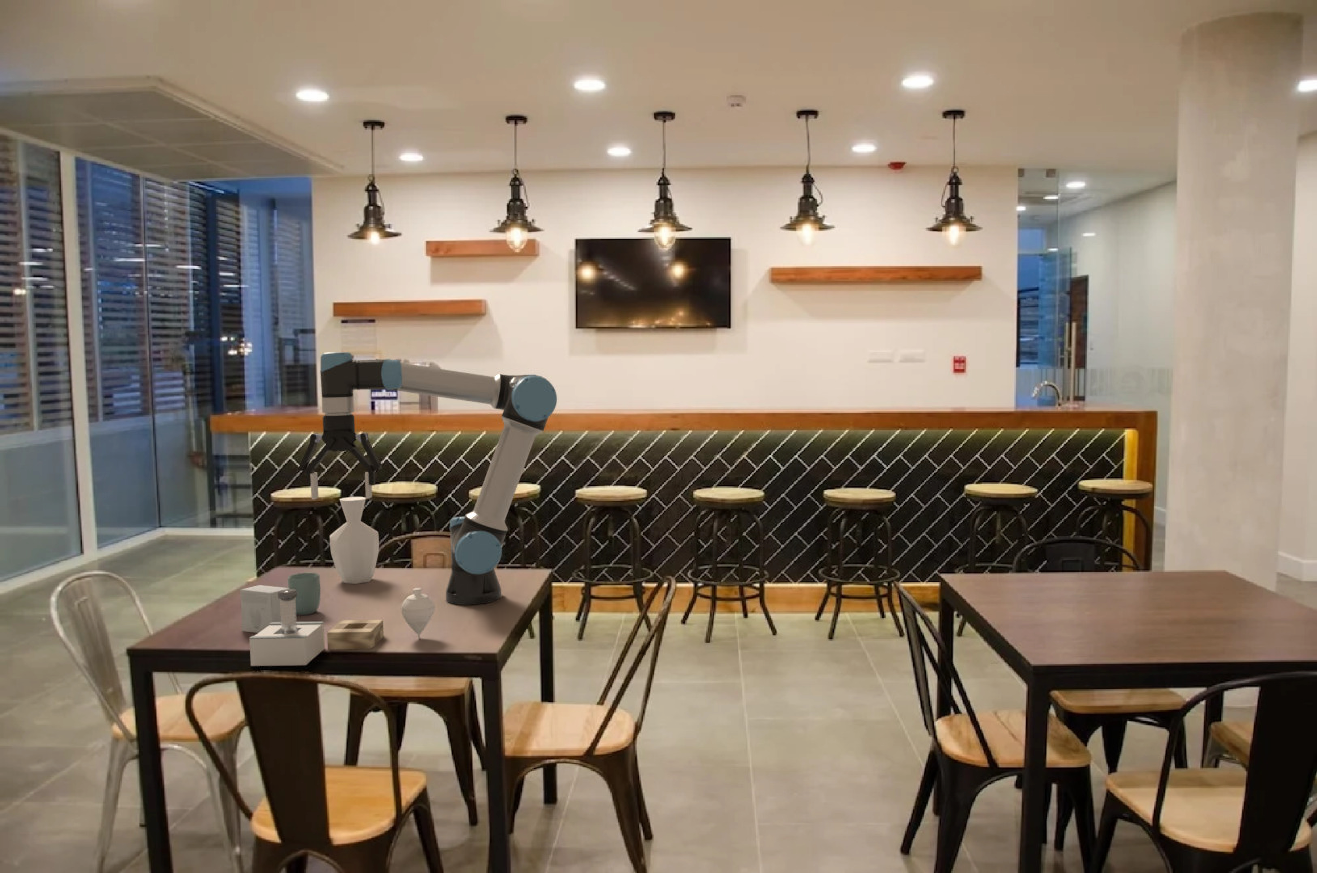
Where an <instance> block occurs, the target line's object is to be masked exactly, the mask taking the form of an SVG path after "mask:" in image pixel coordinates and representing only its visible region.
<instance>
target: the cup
mask: <svg viewBox="0 0 1317 873" xmlns="http://www.w3.org/2000/svg"><path fill="white" fill-rule="evenodd" d="M287 588H290V589H295V590H297V597H295V601H296V615H300V616H306V615H311V614H314V613H316V612H317V610H318V609H319V607H320V605H321V604H320V603H321V577H320V574H319V573H318V572H300V573H294V574H291V575H289V576H288V577H287Z"/></svg>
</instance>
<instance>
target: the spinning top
mask: <svg viewBox="0 0 1317 873" xmlns="http://www.w3.org/2000/svg"><path fill="white" fill-rule="evenodd" d="M412 592H413V593H412V594H410V595H409V596H407V597H406V599H404V601H403V602H402V604H401V606H400V607H401V608H400V610H401V611H400V612H401V614H402V617H403V618H404V620H405V622H406V623H407V624H408V626H409V627H410V629H412V630H413V632H414V633H415V634H417V639H420V638H421V637H420V636H421V635H422V634H421V633H423V631H424V630H425V628H426V627H427V626H428V624H429V622H430V621H431V620H432V617H433V615H434V612H435V604H434V603H435V602H434V601H433V600H432V599H431V598H430V596H429V595H427V594H423V593H422V588H421V587H416V588H413V589H412Z"/></svg>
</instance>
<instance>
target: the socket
mask: <svg viewBox="0 0 1317 873" xmlns="http://www.w3.org/2000/svg"><path fill="white" fill-rule="evenodd" d="M325 641H326V639H325V622H324V621H297V632H296V633H295V634H282V629H281V622H272V623H270V625H269V626H268V627H266V628H265V629H263V630H262V631H260V632H259V633H255V635H251V636H250V637H249V651H250V652H249V654H250V655H249V656H250V667H260V666H261V667H262V666H264V667H265V666H266V667H267V666H268V667H272V666H273V667H274V666H275V667H276V666H307V665H308V664H309V663H310V662H311V661H312V660H313V659H314V658H316V657H317V656H318V655H319V654H320V653H322V652H323V651H324V650H325V649H326V643H325Z"/></svg>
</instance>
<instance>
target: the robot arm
mask: <svg viewBox="0 0 1317 873" xmlns="http://www.w3.org/2000/svg"><path fill="white" fill-rule="evenodd" d="M319 371H320V372H319V374H320V387H321V390H320V391H321V410H322V411H321V412H322V413H323V414H324V415H323V416H322V430H323V432H322V434H318V433H317V432H316V433H311V434H310V435H309V436H310V437H309V444H308V445H307V448H306V450H305V453H304V454H303V458H302V460H301V462H300V464H299V466H298V470H299V471H300V472H304V473H306V485H307V486H308V487H309V486H310V493H311V495H310V496H311V500H316V499H319V483H318V482H319V481H318V480H319V479H318V471H317V472H315V471H316V469H317V468H318V466H319V465H321V463H322V461H323V460H324V459H325V458H326V457H327V455H328V454H329V453H330V452H332V453H333V452H347V451H348V452H349V453H350V454H352V456H353V457H354V458H356V459H357V460H356V461H358V462H359V463H360V464H361V465H362V467H364V469H365V470H366V471H365V473H364V483H365V484H364V485H365V486H364V487H365V498H366V500H369V499H371V498H372V497H373V490H372V489H373V487H372V486H374V485H375V484H376V471H377V470H381V469H382V468H383V465H382V464H383V463H382V462H381V460H380V459H379V457H378V455H377V453H376V452H375V450H374V448H373V445H372V444H371V442H370V440H369V434H368V433H367V432H362V433H356V430H355V428H356V427H355V426H356V425H355V415H354V414H352V413H354V412H355V408H354V406H355V405H354V403H355V401H354V391H360V390H361V391H362V390H366V391H367V390H371V391H373V390H387V391H389V390H390V391H398V392H404V393H411V394H418V395H425V396H429V397H431V396H432V397H439V398H445V399H452V400H457V401H465V402H466V401H467V402H472V403H473V402H474V403H477V404H478V403H479V404H485V405H490V406H491V407H492V408H493V409H494V410H495V409H496V410H501V411H502V414H501V420H502V421H503V428H502V431H501V434H500V437H499V440H498V443H497V444H496V447H495V450H494V452H493V455H492V458H491V461H490V464H489V466H488V469H487V472H486V475H485V478H484V481H483V483H482V485H481V486H482V487H481V488H480V492H479V495H478V497H477V500H476V503H475V505H474V507H473V510H472V511H470V512H468V513H466V514H465V516H456V517H452V518H451V519H450V521H449V529H448V530H449V535H450V536H449V537H450V561H451V563H450V564H451V567H450V568H451V572H450V576H449V579H448V582H447V583H448V584H447V587H446V589H445V601H446V602H448V603H449V604H454V605H480V604H486V603H492V602H495V601H497V600H499V599H501V597H502V588H501V584H500V582H499V579H498V576H497V574H496V571H495V568H496V567H497V566H498V565H499V562H500V561H501V558H502V553H503V548H502V546H503V544H504V540H505V538H506V534H507V532H508V527H507V525H506V519H507V518H506V517H507V515H508V512H509V509H510V507H511V504H512V501H513V500H514V496H515V494H516V490H517V488H518V485H519V482H520V479H521V477H522V474H523V471H524V468H525V466H526V463H527V460H528V459H529V455H530V451H531V450H532V447H533V444H534V441H535V438H536V437H537V436H538V435H540V434H542V433H544V430H545V428H546V425H547V422H548V420H549V417H550V416H551V415H552V414H553V412H554V411H555V409H556V407H557V402H558V395H557V391H556V389H555V387H554V386H553V384H552V383H551V382H550V381H549V380H548V379H547V378H545V377H543V376H541V375H537V374H521V375H519V374H518V375H516V374H515V375H508V374H503V373H502V374H500V373H497V375H495V376H489V375H483V374H476V373H470V372H464V371H458V370H457V371H456V370H449V369H444V368H443V369H442V368H437V367H430V366H422V365H417V364H409V363H403V362H401V361H400V360H399V359H391V358H387V359H380V358H375V359H353V356H352V353H351V352H349V351H347V352H345V351H339V352H337V351H335V352H324V353H322V354H321V355H320V370H319ZM321 440H322V441H323V443H324V446H323V447H322V448H321V451H320V452H319V453H318V454H317V455H316V456H315V458H314V459H313V460H312V457H313V456H314V454H315V451H316V449H317V447H318V444H319V443H320V442H321ZM357 440H358V441H359V443H361V445H362V447H363V449H364V451H365V452H366V455H367V456H368V458H369V459H368V458H367V457H366V456H365V455H364V454H363V453H362V451H360V449H359V447H358V446H357V445H356V444H355V442H356V441H357ZM311 460H312V462H311ZM369 460H370V461H369ZM310 462H311V463H310Z"/></svg>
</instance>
